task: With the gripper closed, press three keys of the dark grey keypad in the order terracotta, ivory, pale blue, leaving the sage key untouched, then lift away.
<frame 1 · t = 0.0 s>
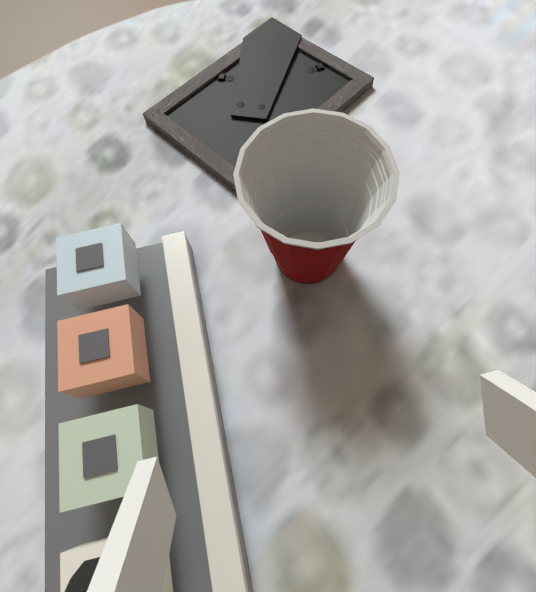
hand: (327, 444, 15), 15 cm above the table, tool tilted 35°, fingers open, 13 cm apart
plastic cup: (308, 259, 36), on the table
picture frame: (259, 108, 45), on the table
keypad base: (139, 411, 31), on the table
key blue: (98, 266, 30), point 6 cm above the table, slide at 0.0 cm
key sage: (110, 456, 24), point 6 cm above the table, slide at 0.0 cm
key ivory: (118, 587, 21), point 6 cm above the table, slide at 0.0 cm
key terracotta: (104, 351, 27), point 6 cm above the table, slide at 0.0 cm
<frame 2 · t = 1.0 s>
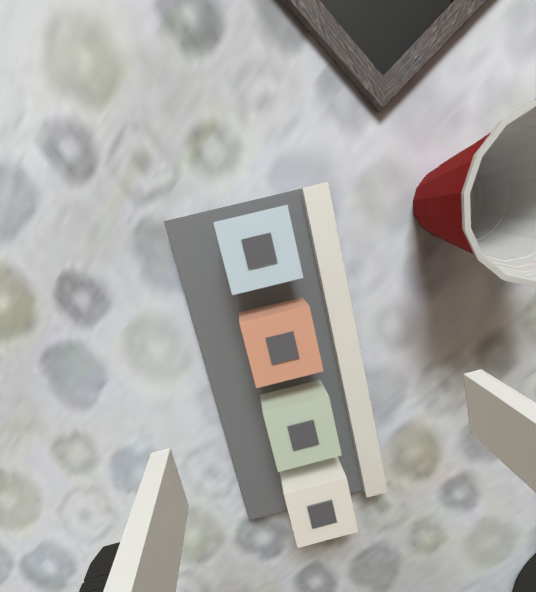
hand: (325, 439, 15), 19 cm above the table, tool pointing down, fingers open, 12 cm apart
plastic cup: (443, 204, 33), on the table
keypad base: (281, 357, 35), on the table
key blue: (258, 249, 27), point 6 cm above the table, slide at 0.0 cm
key sage: (300, 424, 30), point 6 cm above the table, slide at 0.0 cm
key ivory: (318, 500, 31), point 6 cm above the table, slide at 0.0 cm
key terracotta: (280, 341, 28), point 6 cm above the table, slide at 0.0 cm
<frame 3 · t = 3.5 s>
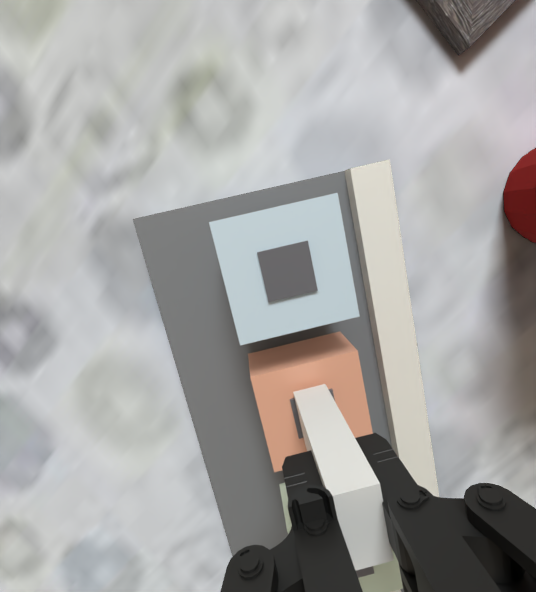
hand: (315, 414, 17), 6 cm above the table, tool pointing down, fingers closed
keypad base: (306, 414, 24), on the table
key blue: (282, 266, 16), point 6 cm above the table, slide at 0.0 cm
key sage: (341, 534, 19), point 6 cm above the table, slide at 0.0 cm
key terracotta: (309, 398, 19), point 5 cm above the table, slide at 1.3 cm, touching gripper
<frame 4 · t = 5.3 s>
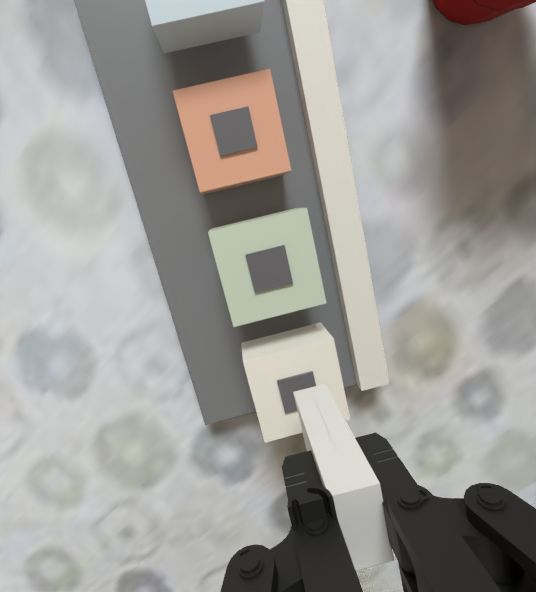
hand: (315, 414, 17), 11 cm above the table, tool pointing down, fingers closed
keypad base: (246, 202, 25), on the table
key sage: (266, 264, 21), point 6 cm above the table, slide at 0.0 cm
key ivory: (294, 380, 22), point 6 cm above the table, slide at 0.0 cm
key terracotta: (233, 137, 21), point 4 cm above the table, slide at 2.1 cm
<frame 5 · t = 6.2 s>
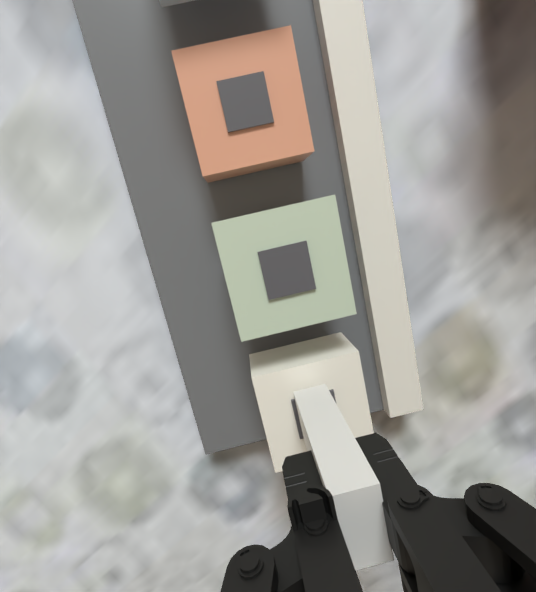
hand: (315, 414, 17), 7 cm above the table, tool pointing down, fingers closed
keypad base: (257, 194, 22), on the table
key sage: (282, 265, 17), point 6 cm above the table, slide at 0.0 cm
key ivory: (310, 399, 19), point 5 cm above the table, slide at 0.8 cm, touching gripper
key terracotta: (244, 112, 17), point 4 cm above the table, slide at 2.1 cm
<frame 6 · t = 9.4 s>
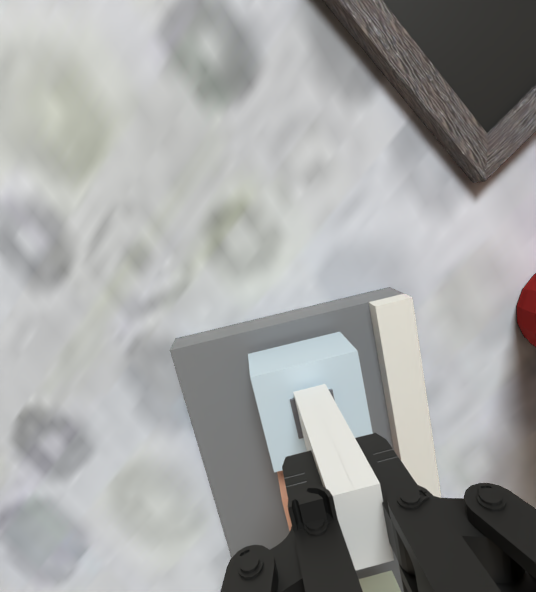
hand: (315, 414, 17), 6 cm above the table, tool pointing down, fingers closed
keypad base: (327, 510, 25), on the table
key blue: (309, 398, 19), point 4 cm above the table, slide at 1.6 cm
key terracotta: (332, 508, 21), point 4 cm above the table, slide at 2.1 cm
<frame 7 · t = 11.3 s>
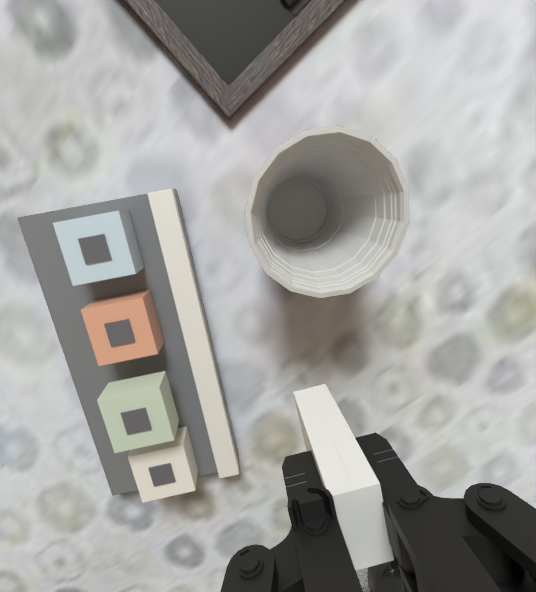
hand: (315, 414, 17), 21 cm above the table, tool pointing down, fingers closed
plastic cup: (297, 212, 36), on the table
keypad base: (144, 348, 37), on the table
key blue: (101, 246, 31), point 4 cm above the table, slide at 2.1 cm
key sage: (140, 411, 32), point 6 cm above the table, slide at 0.0 cm
key ivory: (164, 463, 36), point 4 cm above the table, slide at 2.1 cm
key terracotta: (124, 327, 33), point 4 cm above the table, slide at 2.1 cm
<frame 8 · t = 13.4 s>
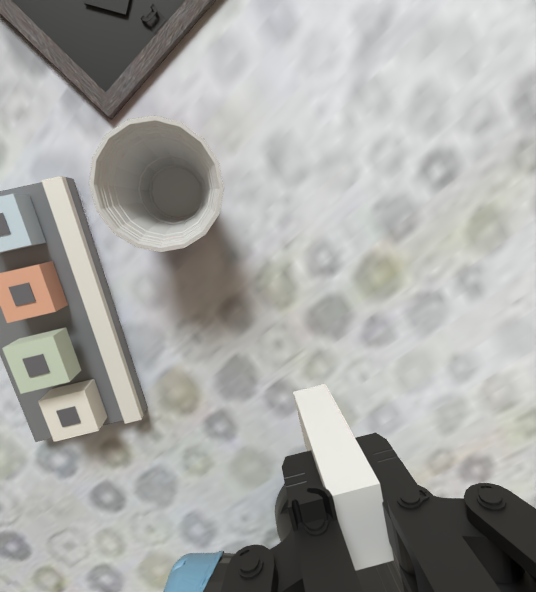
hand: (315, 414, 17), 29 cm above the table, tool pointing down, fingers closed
plastic cup: (178, 194, 43), on the table
keypad base: (57, 313, 44), on the table
key blue: (5, 225, 38), point 4 cm above the table, slide at 2.1 cm
key sage: (43, 360, 39), point 6 cm above the table, slide at 0.0 cm
key ivory: (74, 409, 43), point 4 cm above the table, slide at 2.1 cm
key terracotta: (30, 291, 40), point 4 cm above the table, slide at 2.1 cm
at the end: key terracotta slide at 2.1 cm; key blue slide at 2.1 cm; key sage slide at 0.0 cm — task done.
